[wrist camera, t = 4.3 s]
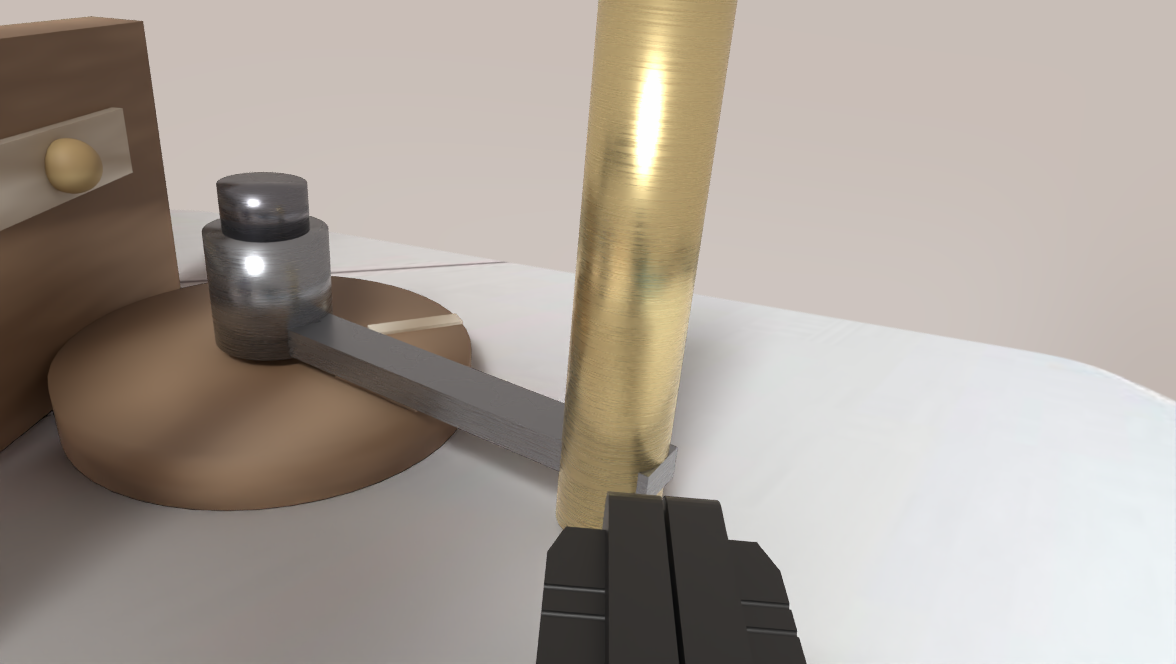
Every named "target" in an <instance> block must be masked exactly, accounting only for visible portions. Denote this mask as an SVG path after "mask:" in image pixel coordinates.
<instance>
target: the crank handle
mask: <svg viewBox="0 0 1176 664" xmlns="http://www.w3.org/2000/svg"><path fill="white" fill-rule="evenodd" d="M736 7H737V0H599V2H598V13H597V25H596V37H595V49H594V61H593V73H592V85H591V97H590V108H589V109H590V110H589V121H588V132H587V133H588V134H587V144H586V156H585V168H584V180H583V192H582V205H581V217H580V228H579V241H578V252H577V264H576V276H575V287H574V299H573V311H572V323H571V335H570V347H569V359H568V371H567V383H566V395H565V404H564V403H562V402H559V401H556V400H554V399H551V398H549V397H546V396H543V395H541V394H538V393H536V392H533V391H530V390H528V389H525V388H523V387H520V386H517V385H515V384H512V383H510V382H507V381H504V380H502V379H499V378H496V377H494V376H491V375H489V374H486V373H483V372H481V371H478V370H476V369H473V368H470V367H468V366H465V365H463V364H460V363H457V362H455V361H452V360H450V359H447V358H444V357H442V356H439V355H436V354H434V353H431V352H429V351H426V350H423V349H421V348H418V347H416V346H413V345H410V344H408V343H405V342H403V341H400V340H397V339H395V338H392V337H390V336H387V335H384V334H382V333H379V332H376V331H374V330H371V329H369V328H366V327H363V326H361V325H358V324H356V323H353V322H350V321H348V320H345V319H343V318H340V317H337V316H335V315H333V306H332V288H331V270H330V251H329V233H328V226H327V224H325V222H323V221H322V220H319V219H317V218H314V217H311V216H309V204H308V189H307V181H306V180H305V179H303V178H301V177H298V176H295V175H289V174H284V173H273V172H254V173H243V174H235V175H231V176H227V177H224V178H222V179H220V180H218V181H217V183H216V186H217V194H218V204H219V212H220V219H217V220H214V221H212V222H210V223H208V224H207V225H206V226H204V228H203V229H202V238H203V246H204V254H205V262H206V270H207V278H208V286H209V294H210V302H211V310H212V318H213V326H214V334H215V342H216V345H217V347H218V348H219V349H220V350H222V351H223V352H225V353H227V354H229V355H231V356H234V357H238V358H243V359H249V360H282V359H289V358H296V359H298V360H301V361H303V362H305V363H308V364H310V365H312V366H315V367H317V368H319V369H322V370H324V371H326V372H328V373H331V374H333V375H335V376H338V377H340V378H342V379H345V380H347V381H349V382H352V383H354V384H356V385H359V386H361V387H363V388H366V389H368V390H370V391H373V392H375V393H377V394H380V395H382V396H384V397H387V398H389V399H391V400H394V401H396V402H398V403H401V404H403V405H405V406H408V407H410V408H412V409H415V410H417V411H419V412H422V413H424V414H426V415H429V416H431V417H433V418H436V419H438V420H440V421H443V422H445V423H447V424H450V425H452V426H454V427H457V428H459V429H461V430H464V431H466V432H468V433H471V434H473V435H475V436H478V437H480V438H482V439H485V440H487V441H489V442H492V443H494V444H496V445H499V446H501V447H503V448H506V449H508V450H510V451H512V452H515V453H517V454H519V455H522V456H524V457H526V458H529V459H531V460H533V461H536V462H538V463H540V464H543V465H545V466H547V467H550V468H552V469H554V470H557V471H559V478H558V490H557V502H556V518H557V521H558V523H559V525H560V526H561V528H562V529H563V530H564V528H565V527H566V526H568V527H580V528H591V529H602V526H603V517H604V509H605V501H606V495H607V491H612V492H624V493H635V494H647V495H658V496H661V497H662V494H663V488H664V486H665V485H666V484H667V483H668V482H669V481H670V480H671V478H672V477H673V474H674V468H675V462H676V455H677V449H678V447H676V446H674V445H671V444H670V441H671V435H672V428H673V422H674V415H675V409H676V402H677V395H678V389H679V382H680V376H681V369H682V362H683V356H684V349H685V343H686V336H687V329H688V323H689V316H690V310H691V303H692V297H693V290H694V283H695V276H696V270H697V264H698V256H699V250H700V244H701V237H702V231H703V224H704V217H705V211H706V204H707V198H708V191H709V184H710V178H711V171H712V165H713V158H714V152H715V144H716V138H717V132H718V125H719V119H720V112H721V105H722V99H723V92H724V86H725V79H726V73H727V66H728V59H729V53H730V46H731V39H732V33H733V27H734V20H735V13H736Z"/></svg>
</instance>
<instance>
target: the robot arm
mask: <svg viewBox="0 0 1176 664" xmlns="http://www.w3.org/2000/svg"><path fill="white" fill-rule="evenodd" d="M536 664H806V660H805V657H804V653H803V650H802V646H801V643H800V639H799V637H797V628H796V625H795V621H794V618H793V614H792V611H791V610H789V600H788V597H787V593H786V590H785V586H784V583H783V579H782V576H781V572H780V570H779V569H778V568H777V567H776V565H775V564H774V563H773V562H772V560H771V559H770V558H769V557H768V555H767V554H766V553H765V552H764V551H763V549H762V548H761V547H760V546H759V544H758V543H757V542H747V541H736V540H728V537H727V532H726V528H725V523H724V518H723V513H722V508H721V505H720V502H719V501H718V500H708V499H696V498H684V497H673V496H664V497H663V500H662V497H661V496H658V495H647V494H635V493H624V492H612V491H607V495H606V501H605V509H604V517H603V526H602V529H591V528H580V527H568V526H566V527H565V528H564V530H563V531H562V532H561V534H560V535H559V537H558V538H557V539H556V541H555V542H554V543H553V545H552V546H551V548H550V549H549V550H548V552H547V561H546V571H545V580H544V590H543V600H542V610H541V620H540V630H539V640H538V650H537V660H536Z"/></svg>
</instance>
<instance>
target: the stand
mask: <svg viewBox="0 0 1176 664" xmlns="http://www.w3.org/2000/svg"><path fill="white" fill-rule="evenodd" d="M331 288H332V306H333V315H335V316H337V317H340V318H343V319H345V320H348V321H350V322H353V323H356V324H358V325H361V326H363V327H366V328H369V329H371V330H374V331H376V332H379V333H382V334H384V335H387V336H390V337H392V338H395V339H397V340H400V341H403V342H405V343H408V344H410V345H413V346H416V347H418V348H421V349H423V350H426V351H429V352H431V353H434V354H436V355H439V356H442V357H444V358H447V359H450V360H452V361H455V362H457V363H460V364H463V365H465V366H468V367H470V368H471V342H470V337H469V335H468V333H467V330H466V328H465V327H464V326H463V321H462V320H461V319H460V318H459V316H458V315H457V314H452V313H451V312H450V311H449V310H447V309H446V308H444V307H443V306H441V305H440V304H438V303H436V302H434V301H432V300H430V299H428V298H426V297H424V296H421V295H419V294H416V293H414V292H411V291H408V290H405V289H402V288H398V287H395V286H391V285H387V284H382V283H378V282H373V281H367V280H361V279H355V278H346V277H337V276H331ZM51 410H53V411H54V416H55V420H56V424H57V429H58V433H59V437H60V442H61V445H62V447H63V449H64V452H65V454H66V456H67V458H68V459H69V460H70V461H71V463H72V464H73V465H74V466H75V467H76V469H77V470H79V471H80V472H81V473H83V474H84V475H85V476H86V477H88V478H89V479H90V480H92V481H93V482H95V483H97V484H99V485H101V486H103V487H105V488H107V489H109V490H111V491H113V492H116V493H119V494H122V495H125V496H127V497H130V498H133V499H136V500H141V501H145V502H149V503H154V504H158V505H163V506H171V507H179V508H187V509H198V510H224V511H227V510H252V509H265V508H274V507H282V506H291V505H296V504H302V503H307V502H312V501H317V500H323V499H326V498H330V497H334V496H338V495H341V494H345V493H349V492H352V491H355V490H358V489H361V488H364V487H366V486H369V485H372V484H375V483H378V482H380V481H383V480H385V479H387V478H389V477H391V476H393V475H396V474H398V473H400V472H402V471H404V470H406V469H408V468H409V467H411V466H413V465H414V464H416V463H418V462H420V461H421V460H423V459H425V458H426V457H427V456H429V455H430V454H431V453H433V452H434V451H435V450H437V449H438V448H439V447H441V446H442V445H443V444H444V443H445V442H446V441H447V440H448V439H449V438H450V437H451V436H452V435H453V434H454V432H455V431H456V429H457V427H454V426H452V425H450V424H447V423H445V422H443V421H440V420H438V419H436V418H433V417H431V416H429V415H426V414H424V413H422V412H419V411H417V410H415V409H412V408H410V407H408V406H405V405H403V404H401V403H398V402H396V401H394V400H391V399H389V398H387V397H384V396H382V395H380V394H377V393H375V392H373V391H370V390H368V389H366V388H363V387H361V386H359V385H356V384H354V383H352V382H349V381H347V380H345V379H342V378H340V377H338V376H335V375H333V374H331V373H328V372H326V371H324V370H322V369H319V368H317V367H315V366H312V365H310V364H308V363H305V362H303V361H301V360H298V359H296V358H289V359H282V360H249V359H243V358H238V357H234V356H231V355H229V354H227V353H225V352H223V351H222V350H220V349H219V348H218V347H217V345H216V342H215V334H214V326H213V318H212V310H211V302H210V294H209V286H208V283H204V284H199V285H194V286H190V287H185V288H180V280H179V273H178V266H177V259H176V252H175V245H174V238H173V231H172V224H171V216H170V209H169V202H168V195H167V188H166V181H165V174H164V167H163V160H162V153H161V146H160V139H159V131H158V124H157V118H156V110H155V103H154V96H153V89H152V82H151V74H150V67H149V61H148V53H147V46H146V39H145V32H144V25H143V21H136V20H124V19H114V18H103V17H92V16H91V17H82V18H71V19H61V20H51V21H41V22H31V23H22V24H12V25H2V26H0V452H1V451H2V450H3V449H4V448H6V447H7V446H8V445H9V444H11V443H12V442H13V441H14V440H16V439H17V438H18V437H19V436H21V435H22V434H23V433H24V432H25V431H27V430H28V429H29V428H30V427H32V426H33V425H34V424H35V423H37V422H38V421H39V420H40V419H42V418H43V417H44V416H45V415H47V414H48V413H49V412H50V411H51Z"/></svg>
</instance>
